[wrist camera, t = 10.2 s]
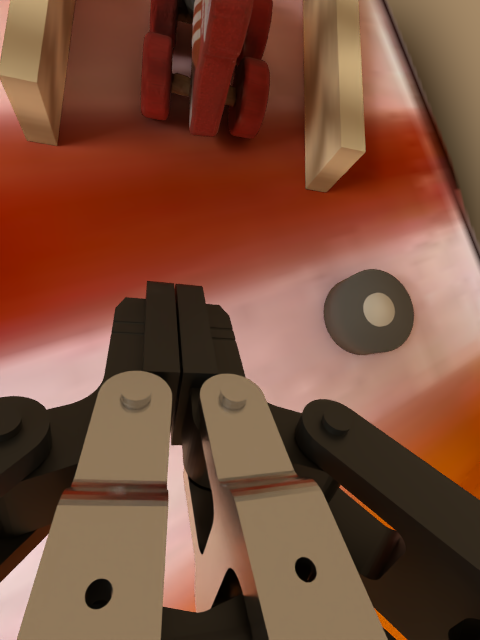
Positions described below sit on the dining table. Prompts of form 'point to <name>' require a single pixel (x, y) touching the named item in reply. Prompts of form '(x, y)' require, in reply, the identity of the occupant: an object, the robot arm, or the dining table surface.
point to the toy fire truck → (210, 63)
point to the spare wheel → (369, 313)
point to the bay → (319, 79)
